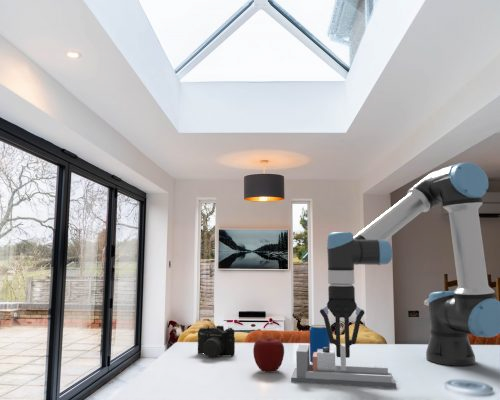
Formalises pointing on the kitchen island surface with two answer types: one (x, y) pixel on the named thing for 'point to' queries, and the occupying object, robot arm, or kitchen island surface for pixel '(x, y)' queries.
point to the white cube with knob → (325, 360)
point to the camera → (216, 341)
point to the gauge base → (340, 373)
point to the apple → (268, 354)
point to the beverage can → (318, 339)
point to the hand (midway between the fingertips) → (343, 369)
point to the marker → (315, 361)
